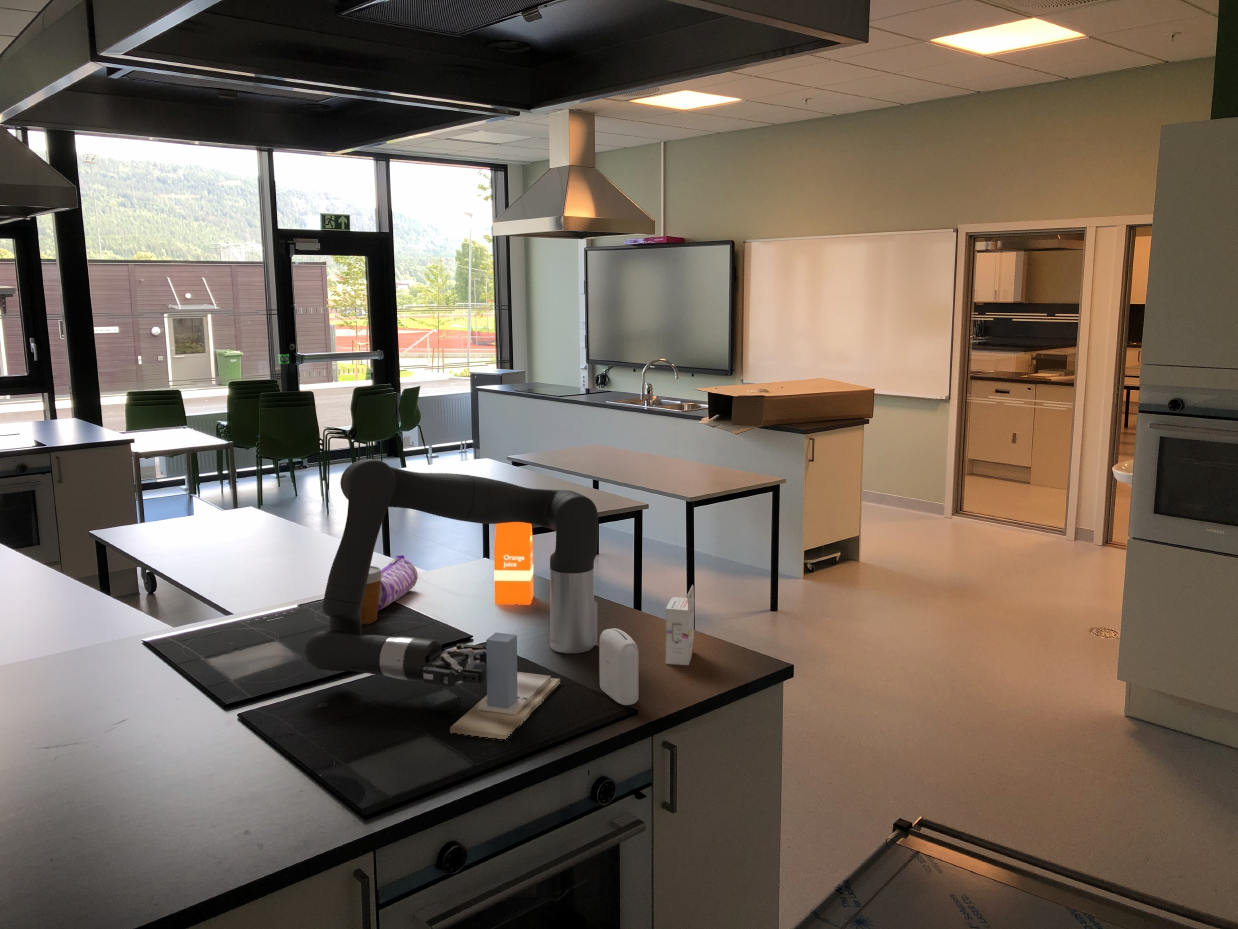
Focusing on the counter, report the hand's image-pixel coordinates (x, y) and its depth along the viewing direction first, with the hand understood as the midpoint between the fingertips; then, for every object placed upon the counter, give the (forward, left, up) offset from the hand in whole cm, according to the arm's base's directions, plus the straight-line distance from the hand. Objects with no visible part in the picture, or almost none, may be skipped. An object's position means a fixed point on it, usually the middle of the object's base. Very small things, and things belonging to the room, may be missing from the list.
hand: (494, 668), depth 163 cm
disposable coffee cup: (-8, -63, -8) cm, 64 cm away
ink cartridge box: (-44, +3, -8) cm, 45 cm away
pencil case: (-21, -73, -8) cm, 76 cm away
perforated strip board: (-3, 0, -8) cm, 9 cm away
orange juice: (-44, -53, -8) cm, 69 cm away
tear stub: (-1, +1, -7) cm, 7 cm away
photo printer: (-21, +9, -8) cm, 24 cm away
